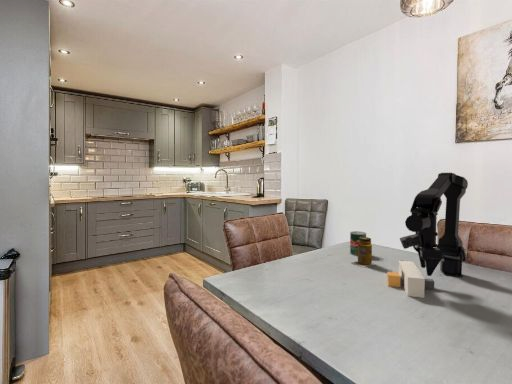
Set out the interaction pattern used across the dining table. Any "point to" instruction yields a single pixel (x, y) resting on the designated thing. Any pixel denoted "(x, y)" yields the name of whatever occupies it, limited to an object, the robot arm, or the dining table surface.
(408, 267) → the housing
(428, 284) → the orange grey square bar
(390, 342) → the dining table surface
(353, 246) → the canned tomato
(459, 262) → the robot arm
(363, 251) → the condiment
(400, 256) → the dining table surface
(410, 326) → the dining table surface
